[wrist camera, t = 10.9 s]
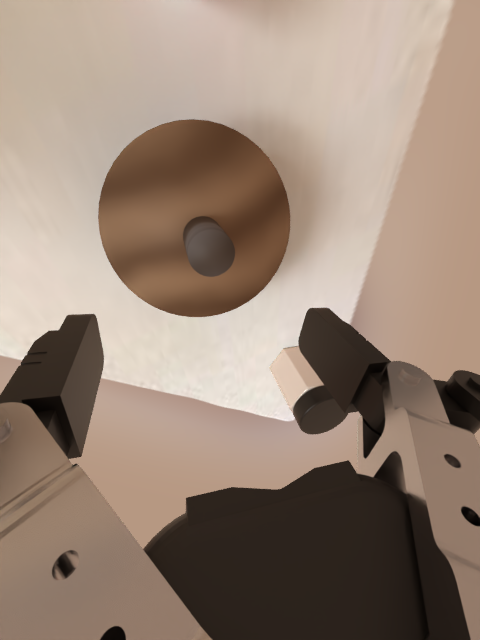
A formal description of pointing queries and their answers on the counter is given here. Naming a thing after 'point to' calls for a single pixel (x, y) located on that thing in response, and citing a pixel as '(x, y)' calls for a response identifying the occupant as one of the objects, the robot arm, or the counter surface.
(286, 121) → the counter surface
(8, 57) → the counter surface
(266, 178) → the walnut lid
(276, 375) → the jar
